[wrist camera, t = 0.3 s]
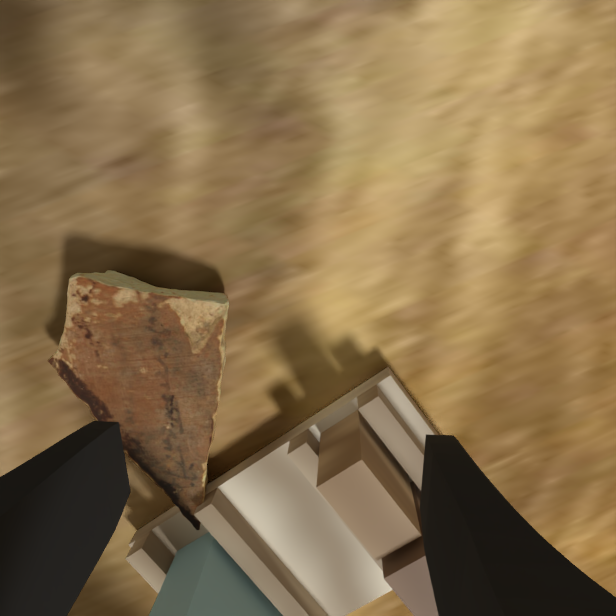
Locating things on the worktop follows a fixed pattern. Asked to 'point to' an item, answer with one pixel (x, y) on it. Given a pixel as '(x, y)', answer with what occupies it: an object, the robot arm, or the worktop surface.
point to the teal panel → (209, 585)
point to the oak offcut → (367, 486)
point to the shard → (149, 373)
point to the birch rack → (294, 511)
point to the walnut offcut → (411, 571)
